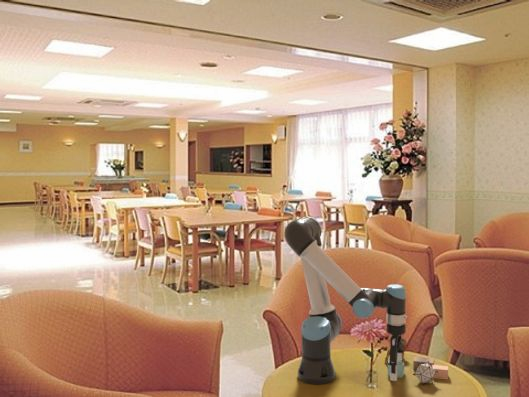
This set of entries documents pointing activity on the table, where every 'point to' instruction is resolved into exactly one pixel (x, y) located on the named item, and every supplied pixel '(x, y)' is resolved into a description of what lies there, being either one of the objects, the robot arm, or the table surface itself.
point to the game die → (425, 373)
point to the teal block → (398, 369)
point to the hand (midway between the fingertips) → (396, 374)
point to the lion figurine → (401, 352)
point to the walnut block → (422, 361)
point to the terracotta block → (441, 371)
